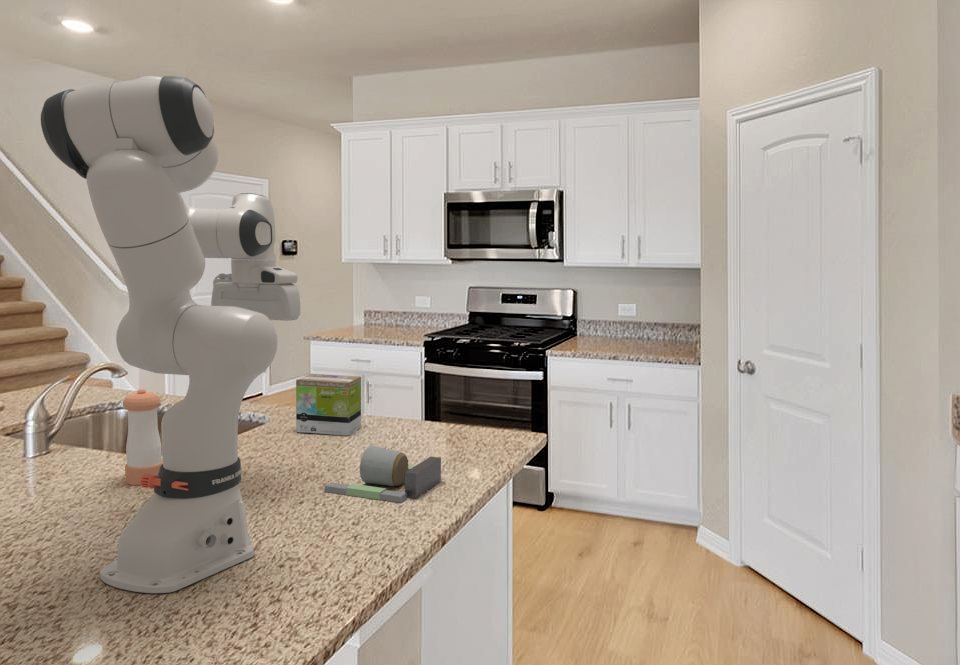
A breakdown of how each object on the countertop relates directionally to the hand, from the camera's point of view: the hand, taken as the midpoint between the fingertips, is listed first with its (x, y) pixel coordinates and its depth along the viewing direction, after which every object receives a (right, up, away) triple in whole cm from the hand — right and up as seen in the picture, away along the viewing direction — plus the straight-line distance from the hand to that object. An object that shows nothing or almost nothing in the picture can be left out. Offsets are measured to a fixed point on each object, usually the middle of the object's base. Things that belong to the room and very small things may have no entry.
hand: (255, 340), depth 146 cm
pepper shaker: (-23, -29, 0) cm, 37 cm away
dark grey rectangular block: (+35, -30, -4) cm, 47 cm away
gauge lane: (+27, -30, -1) cm, 40 cm away
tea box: (+6, -25, +43) cm, 50 cm away
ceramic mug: (+27, -30, 0) cm, 40 cm away
